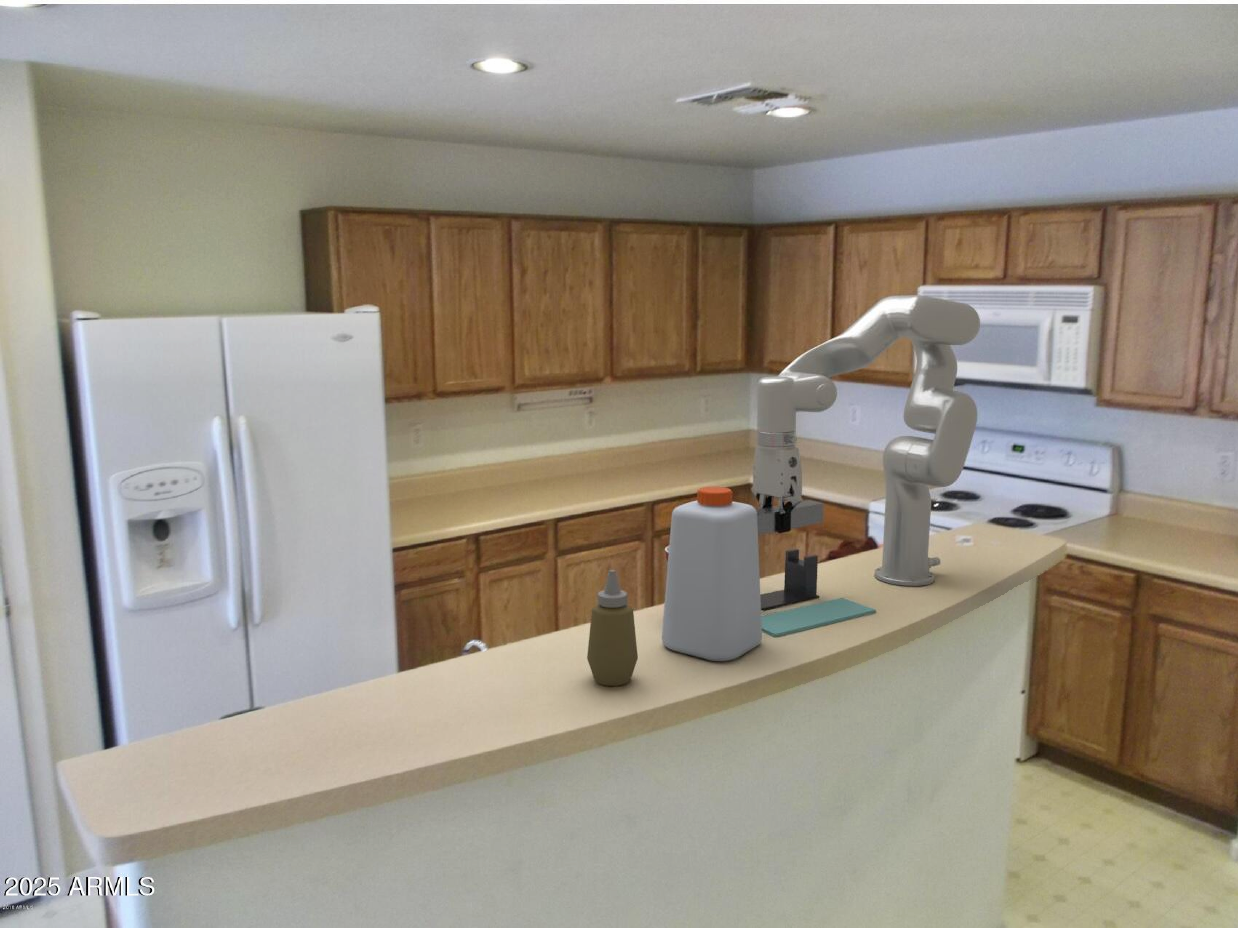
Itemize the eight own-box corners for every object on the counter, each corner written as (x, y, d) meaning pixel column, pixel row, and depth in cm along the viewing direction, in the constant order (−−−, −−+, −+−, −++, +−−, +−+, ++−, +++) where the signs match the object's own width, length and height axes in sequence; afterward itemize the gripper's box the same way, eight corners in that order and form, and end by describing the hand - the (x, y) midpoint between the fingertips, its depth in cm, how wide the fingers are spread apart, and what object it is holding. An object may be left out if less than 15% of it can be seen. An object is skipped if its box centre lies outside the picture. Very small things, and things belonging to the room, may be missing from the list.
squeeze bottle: (579, 674, 146) (579, 567, 143) (625, 666, 149) (625, 561, 146) (598, 693, 138) (598, 580, 135) (646, 685, 142) (646, 574, 139)
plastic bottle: (727, 668, 148) (731, 502, 144) (652, 647, 157) (653, 490, 153) (770, 641, 160) (775, 487, 156) (698, 624, 169) (700, 478, 165)
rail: (809, 518, 188) (809, 499, 187) (823, 522, 185) (823, 503, 184) (726, 534, 177) (726, 514, 176) (739, 539, 173) (739, 518, 173)
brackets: (795, 589, 191) (797, 548, 189) (819, 598, 185) (820, 555, 184) (721, 605, 181) (722, 561, 179) (743, 614, 175) (744, 570, 173)
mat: (842, 600, 184) (842, 597, 184) (875, 612, 176) (875, 609, 176) (742, 622, 170) (743, 619, 170) (774, 637, 163) (775, 634, 163)
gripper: (820, 442, 172) (819, 535, 176) (762, 433, 186) (762, 518, 190) (791, 446, 168) (790, 541, 172) (734, 436, 182) (734, 524, 186)
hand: (775, 528), depth 181 cm, fingers closed on rail, 4 cm apart
